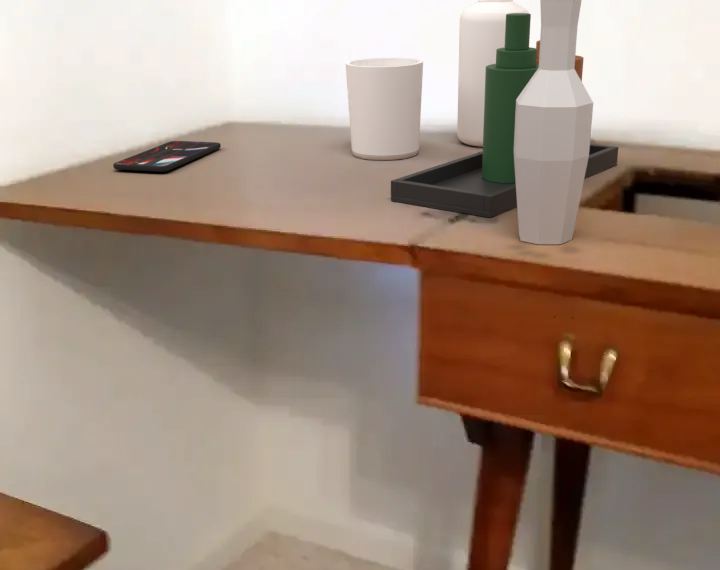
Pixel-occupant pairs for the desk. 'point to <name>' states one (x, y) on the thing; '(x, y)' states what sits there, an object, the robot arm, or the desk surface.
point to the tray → (475, 185)
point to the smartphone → (167, 156)
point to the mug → (384, 107)
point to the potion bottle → (478, 61)
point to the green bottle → (506, 98)
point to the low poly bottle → (552, 132)
